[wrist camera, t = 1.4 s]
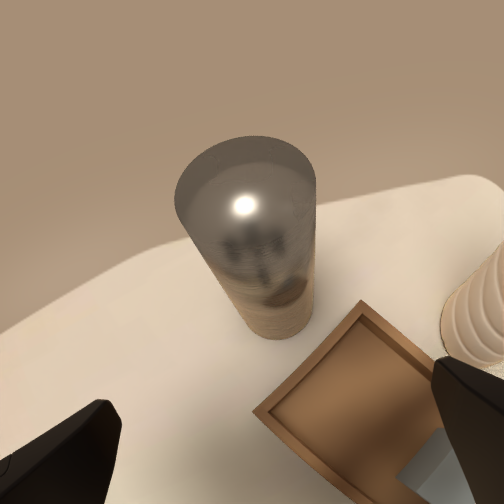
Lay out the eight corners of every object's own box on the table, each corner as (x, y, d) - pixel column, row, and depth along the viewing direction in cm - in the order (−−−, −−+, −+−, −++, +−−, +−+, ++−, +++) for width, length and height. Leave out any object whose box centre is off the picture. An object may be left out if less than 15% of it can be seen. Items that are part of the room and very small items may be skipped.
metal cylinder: (327, 303, 21) (345, 176, 10) (276, 354, 20) (238, 278, 9) (276, 260, 24) (246, 120, 12) (227, 306, 23) (150, 193, 11)
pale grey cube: (473, 457, 13) (505, 462, 9) (433, 505, 12) (458, 522, 8) (437, 427, 14) (466, 429, 11) (394, 477, 13) (415, 491, 10)
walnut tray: (492, 436, 14) (517, 436, 11) (410, 534, 12) (425, 550, 9) (353, 315, 21) (360, 299, 18) (260, 411, 19) (251, 411, 16)
